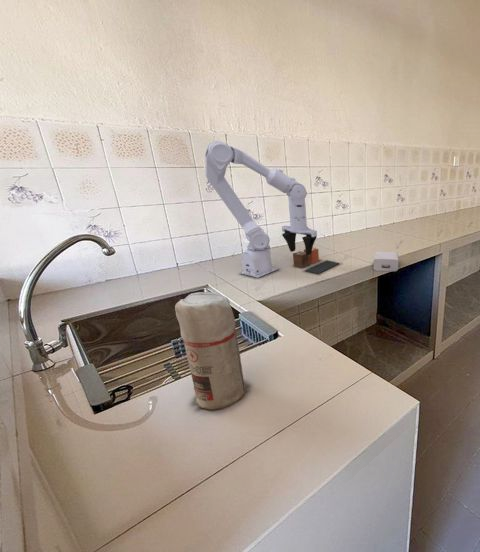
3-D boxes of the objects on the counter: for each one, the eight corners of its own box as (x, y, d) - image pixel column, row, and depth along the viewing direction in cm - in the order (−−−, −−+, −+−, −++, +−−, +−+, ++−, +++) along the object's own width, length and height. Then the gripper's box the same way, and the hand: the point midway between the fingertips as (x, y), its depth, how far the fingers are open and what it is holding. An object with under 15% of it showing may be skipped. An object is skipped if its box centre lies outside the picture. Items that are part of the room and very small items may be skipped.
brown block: (302, 268, 125) (301, 255, 123) (293, 266, 126) (292, 253, 124) (309, 265, 128) (308, 252, 126) (300, 263, 129) (300, 250, 128)
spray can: (189, 393, 61) (166, 294, 54) (236, 374, 67) (220, 282, 60) (204, 419, 56) (180, 313, 49) (253, 396, 61) (238, 298, 54)
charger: (397, 258, 139) (398, 271, 125) (375, 258, 139) (373, 270, 125) (397, 248, 137) (398, 259, 123) (375, 247, 137) (373, 258, 123)
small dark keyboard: (318, 274, 119) (318, 273, 119) (305, 271, 122) (304, 270, 122) (339, 264, 130) (339, 263, 130) (326, 261, 133) (326, 260, 133)
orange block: (312, 263, 130) (311, 251, 128) (304, 261, 131) (303, 249, 129) (319, 260, 134) (319, 248, 132) (311, 258, 135) (311, 246, 133)
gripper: (321, 217, 121) (323, 252, 126) (290, 212, 126) (293, 247, 131) (308, 220, 115) (311, 258, 120) (276, 215, 120) (280, 251, 125)
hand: (300, 252), depth 125 cm, fingers open, 7 cm apart
